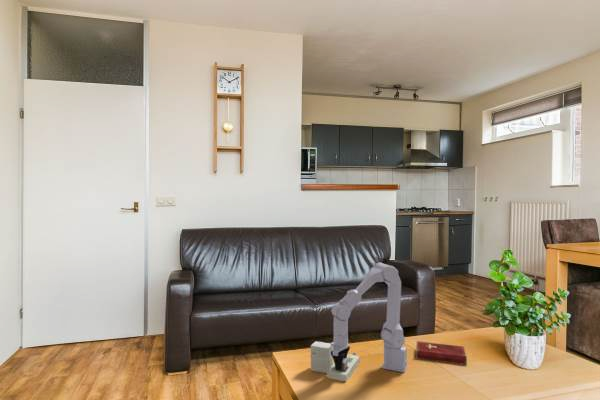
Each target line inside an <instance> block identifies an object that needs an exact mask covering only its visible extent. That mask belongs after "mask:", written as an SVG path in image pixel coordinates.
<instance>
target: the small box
mask: <svg viewBox="0 0 600 400" xmlns="http://www.w3.org/2000/svg"><path fill="white" fill-rule="evenodd" d="M331 351H333V346H331V342H323V341H314V342H313V343H312V344H310V371H313V372H318V373H322V374H327V371H328V370H329V369H330V367H331V366H332V365H333V364H334V360H333V357H332V356H331Z"/></svg>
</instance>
